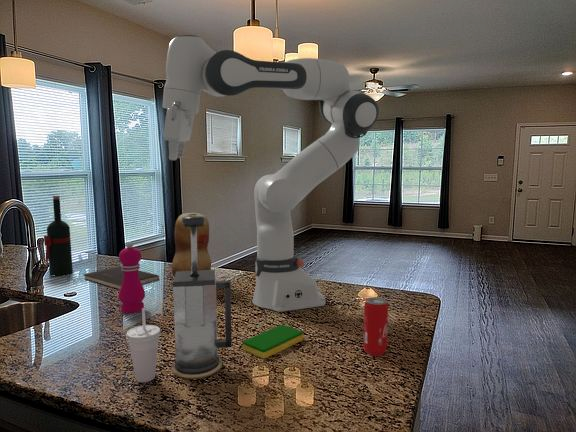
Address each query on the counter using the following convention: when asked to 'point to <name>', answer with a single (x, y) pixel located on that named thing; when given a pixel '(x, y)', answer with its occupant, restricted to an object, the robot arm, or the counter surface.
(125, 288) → the pepper mill
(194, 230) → the plunger
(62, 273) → the wine bottle
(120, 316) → the counter surface
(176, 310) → the press carafe
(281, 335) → the dish sponge
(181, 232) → the butternut squash
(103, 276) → the hardcover book
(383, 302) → the beverage can
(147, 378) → the smoothie
